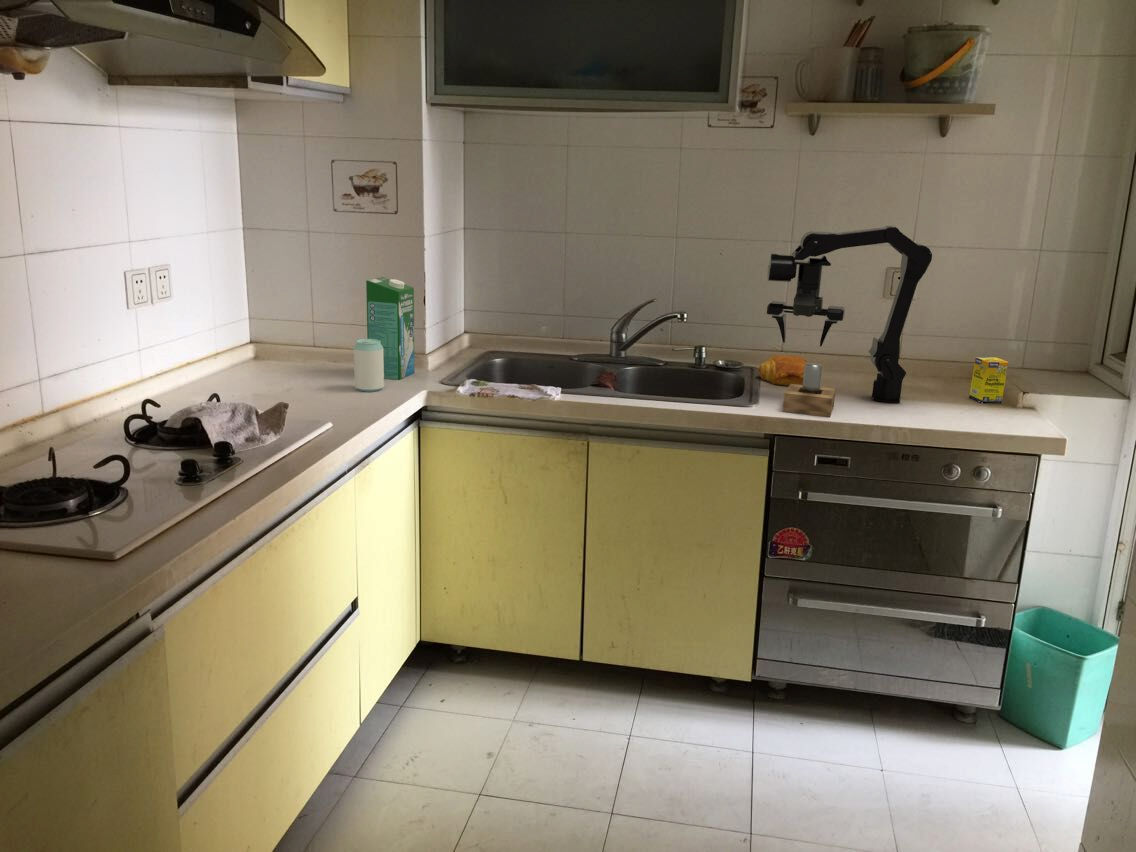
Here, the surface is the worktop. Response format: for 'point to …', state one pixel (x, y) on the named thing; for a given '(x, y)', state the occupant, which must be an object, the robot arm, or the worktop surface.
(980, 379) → the supplement box
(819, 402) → the bore block
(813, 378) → the pin
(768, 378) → the croissant
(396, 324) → the milk carton
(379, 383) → the can
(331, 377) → the worktop surface
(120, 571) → the worktop surface
